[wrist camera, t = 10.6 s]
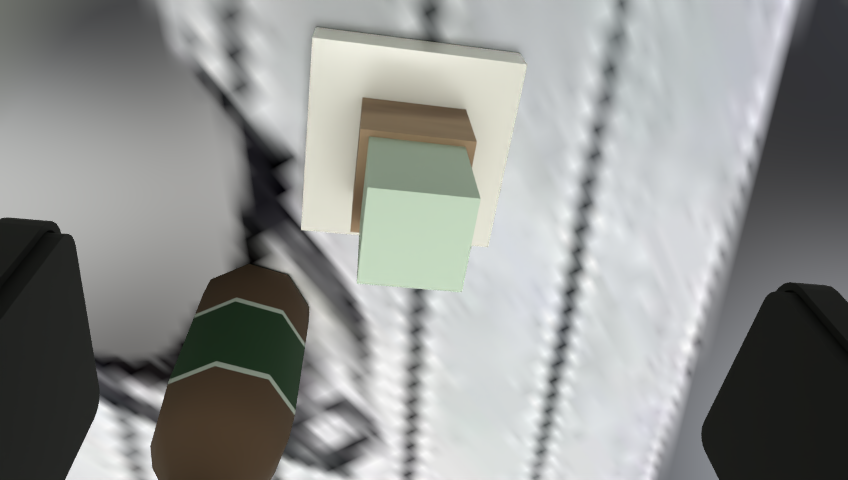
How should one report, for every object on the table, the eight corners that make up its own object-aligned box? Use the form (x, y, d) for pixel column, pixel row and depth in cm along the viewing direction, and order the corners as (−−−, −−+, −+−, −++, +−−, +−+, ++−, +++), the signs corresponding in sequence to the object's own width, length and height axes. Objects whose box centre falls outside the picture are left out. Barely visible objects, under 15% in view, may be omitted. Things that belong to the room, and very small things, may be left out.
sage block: (368, 136, 35) (367, 187, 29) (465, 146, 35) (480, 198, 30) (359, 222, 37) (356, 283, 32) (450, 230, 38) (461, 292, 32)
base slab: (315, 26, 39) (312, 37, 37) (519, 52, 40) (527, 64, 38) (304, 211, 45) (301, 229, 43) (482, 228, 46) (487, 247, 44)
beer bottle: (316, 347, 51) (272, 694, 30) (210, 351, 50) (91, 707, 29) (305, 257, 47) (247, 586, 26) (190, 262, 46) (38, 598, 26)
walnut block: (362, 97, 39) (360, 128, 34) (466, 109, 39) (476, 141, 35) (353, 191, 42) (350, 231, 37) (449, 201, 42) (457, 241, 38)
